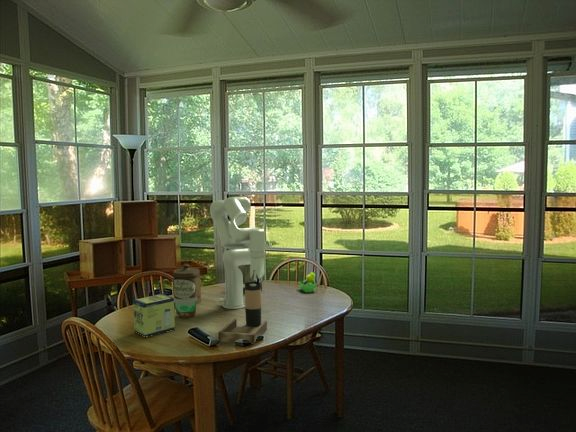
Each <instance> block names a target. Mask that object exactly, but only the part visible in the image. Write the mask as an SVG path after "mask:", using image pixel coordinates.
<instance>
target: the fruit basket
mask: <svg viewBox="0 0 576 432" xmlns="http://www.w3.org/2000/svg"><path fill="white" fill-rule="evenodd" d="M305 278H306V279H304V280H299V281H298V283H299V285H300V289H301V290H302V291H303V292H305V293H314V292H315V289H316V285H317V283H316V282H315V279H316V274H315V272H314V271H311V272H310V273H309V274H308V275H306V277H305Z"/></svg>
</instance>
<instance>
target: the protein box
mask: <svg viewBox="0 0 576 432" xmlns="http://www.w3.org/2000/svg"><path fill="white" fill-rule="evenodd" d="M132 306H133V307H132V308H133V310H132V311H133V328H134V331H135V332H137V333H139V334H141V335H143V336H145V337H146V336H151V335H155V334H158V333H162V334H164V333H163V332H166V333H168V332H167V331H169V332H171V331H170V330H173V331H176V327H175V326H176V322H175V321H176V320H175V303H174V297H173V296H172V297H171V296H169V295H167V294H163V293H160V294H156V295H151V296H150V295H149V296H146V297H141V298H136V299H132ZM158 335H159V334H158ZM155 336H156V335H155ZM151 337H152V336H151Z"/></svg>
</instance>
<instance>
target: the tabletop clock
mask: <svg viewBox="0 0 576 432" xmlns="http://www.w3.org/2000/svg"><path fill="white" fill-rule="evenodd" d="M238 268H239V269H240V270H241V272H242V275H243V285H245V283H248V282H254V277H253V278H250V264H248V265H241V266H238ZM264 276H265V274H264V275H263V276H262V283H264V278H265V277H264Z"/></svg>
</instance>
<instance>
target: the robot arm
mask: <svg viewBox="0 0 576 432" xmlns="http://www.w3.org/2000/svg"><path fill="white" fill-rule="evenodd" d="M251 205H252V204H251V201H250V199H249V198H248V197H246V196H231V197H227V198H225V199H218V200H215V201H213V202H211V204H210V207H209V209H210V210H209V212H210V217H211V220H212V221H213V222H214V224H215V227H216V230H217V232H218V236H219V240H220V244H221V246H222V247H223V248H224V249H226V250H224V252H222V262H223V267H224V286H225V287H224V289H225V290H224V291H225V295H224V296H225V297H219V298H218V302H219V303H223V304H222V307H223V308H224V309H227V310H228V309H229V310H238V309H243V308H245V301H244V284H243V275H242V272H241V270H240V269H239V268H238V266H241V265H248V264H250V278H253V277H254V282H259V283H261V292H262V291H263V284H262V283H263V282H262V276H263V275H264V276H265V258H266V232H265V230H264V229H262V228H259V227H257V226H255V227H240V228H239V226H241V225H242V224H244V223H245V222H246V220H247V218H248V212H250V210H251ZM226 216H228V217H229V219H230V220H229V219H228V218H227V217H226Z"/></svg>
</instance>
